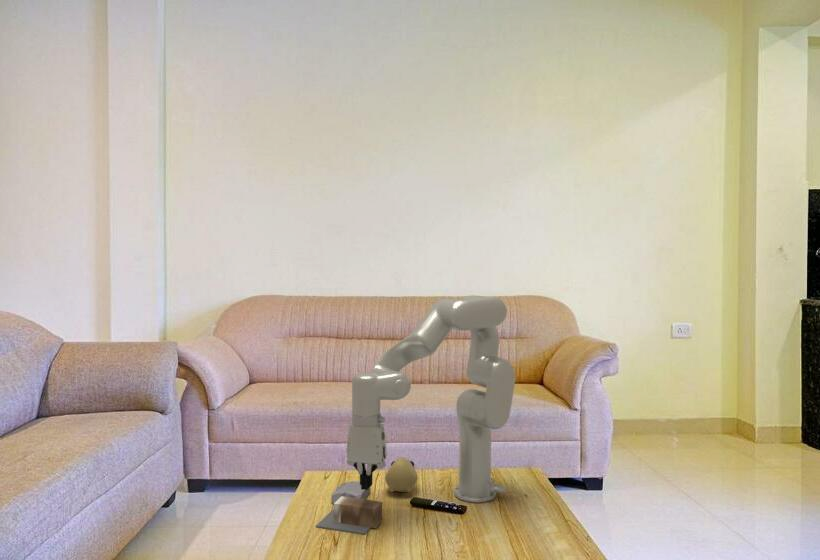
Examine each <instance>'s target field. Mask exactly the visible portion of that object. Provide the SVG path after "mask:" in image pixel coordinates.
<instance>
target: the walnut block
mask: <svg viewBox="0 0 820 560" xmlns="http://www.w3.org/2000/svg"><path fill="white" fill-rule="evenodd" d="M333 509H334V522H338V523H344V524H351V525H358V526H365V527H371V528H370V529H372V528H373V529H376V528H377V527H378V526H379V524H381V522H382V521H383V501H381V500H374V499H367V498H366V499H358V498H351V497H343V496H341V497H340V498H339V499H338V500H337V501H336V502H335V503H334V504H333Z"/></svg>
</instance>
